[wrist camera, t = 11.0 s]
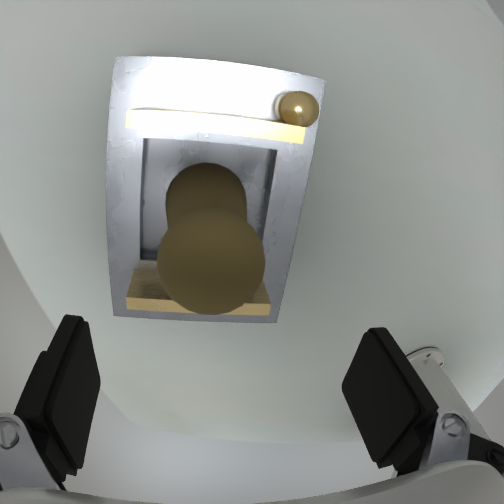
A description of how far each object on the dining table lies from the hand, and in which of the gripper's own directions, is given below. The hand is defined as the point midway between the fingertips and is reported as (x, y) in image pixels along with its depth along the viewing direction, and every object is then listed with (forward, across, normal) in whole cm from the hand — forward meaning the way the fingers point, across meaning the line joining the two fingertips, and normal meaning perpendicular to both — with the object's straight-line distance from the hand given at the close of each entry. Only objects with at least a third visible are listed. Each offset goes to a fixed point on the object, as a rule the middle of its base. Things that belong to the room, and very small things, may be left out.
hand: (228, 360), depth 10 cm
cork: (+16, +1, 0) cm, 16 cm away
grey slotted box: (+20, +1, -1) cm, 20 cm away
